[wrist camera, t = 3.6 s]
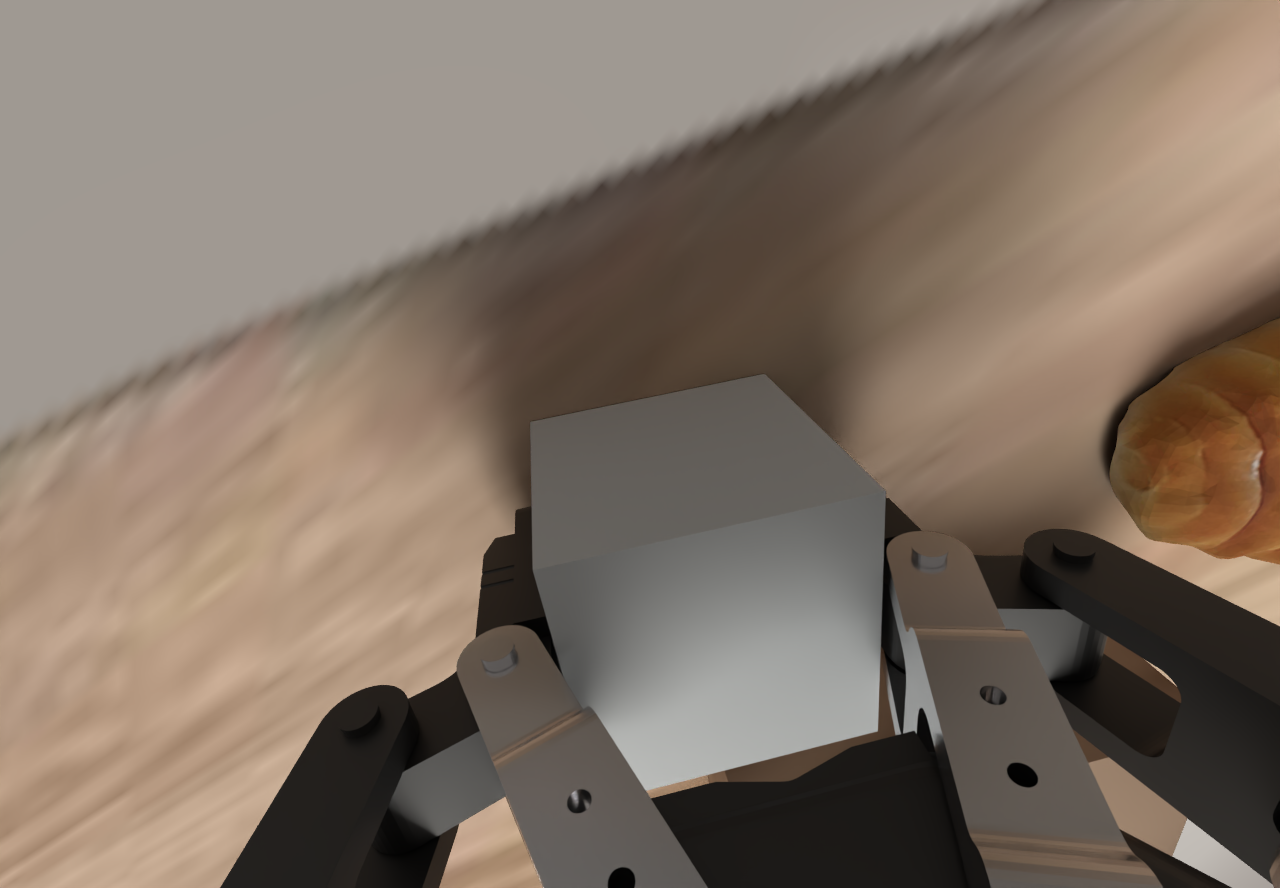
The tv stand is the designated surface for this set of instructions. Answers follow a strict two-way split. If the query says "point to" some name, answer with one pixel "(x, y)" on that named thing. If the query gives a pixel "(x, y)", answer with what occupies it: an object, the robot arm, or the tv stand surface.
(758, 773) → the tan square block
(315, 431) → the tv stand surface
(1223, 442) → the pastry
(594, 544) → the grey cube
